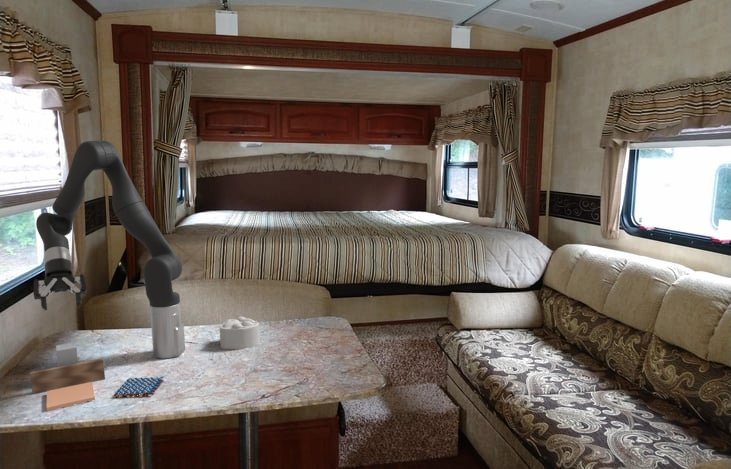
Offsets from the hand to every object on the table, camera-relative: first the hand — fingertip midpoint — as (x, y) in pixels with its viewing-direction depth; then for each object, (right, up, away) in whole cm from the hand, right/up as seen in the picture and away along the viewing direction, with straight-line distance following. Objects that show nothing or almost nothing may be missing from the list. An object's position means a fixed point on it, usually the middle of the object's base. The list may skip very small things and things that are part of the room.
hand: (62, 306), depth 156 cm
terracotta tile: (+14, -22, -19) cm, 32 cm away
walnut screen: (+9, -21, -11) cm, 26 cm away
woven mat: (+30, -22, -14) cm, 40 cm away
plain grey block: (+6, -20, -7) cm, 22 cm away
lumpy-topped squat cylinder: (+50, -16, +21) cm, 57 cm away
